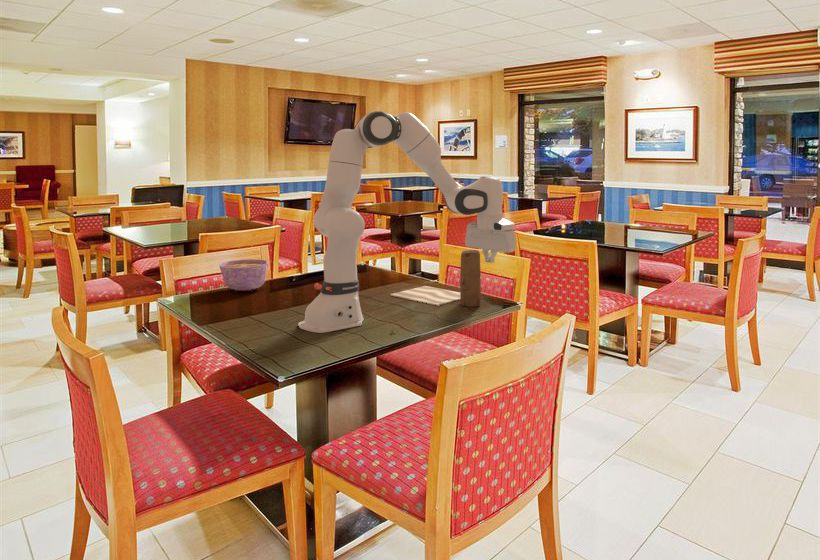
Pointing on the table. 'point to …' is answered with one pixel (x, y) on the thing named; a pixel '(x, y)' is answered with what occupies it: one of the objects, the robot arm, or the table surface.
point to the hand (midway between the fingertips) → (489, 262)
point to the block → (470, 278)
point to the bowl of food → (244, 273)
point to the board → (429, 295)
